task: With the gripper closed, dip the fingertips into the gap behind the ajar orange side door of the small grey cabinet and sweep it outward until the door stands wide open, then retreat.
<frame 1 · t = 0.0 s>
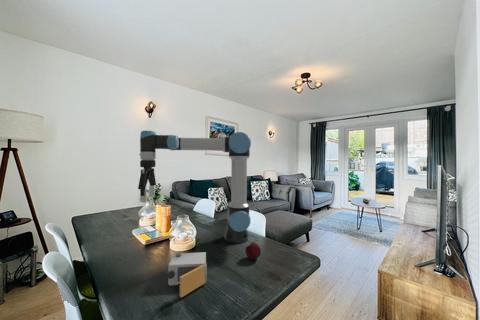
hand: (147, 199, 110), 28 cm above the table, fingers open, 13 cm apart
small grey cabinet: (188, 277, 86), on the table
apple: (253, 259, 103), on the table
side door: (194, 279, 77), point 4 cm above the table, hinge at 45.0°
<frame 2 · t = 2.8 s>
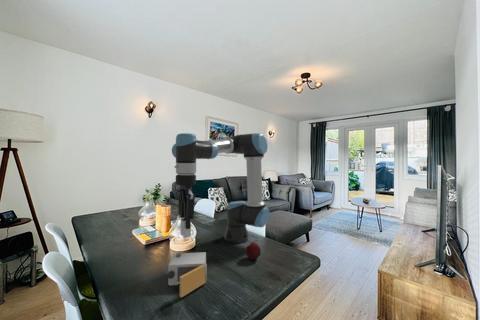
hand: (185, 235, 78), 20 cm above the table, fingers open, 2 cm apart
nothing on the table moved.
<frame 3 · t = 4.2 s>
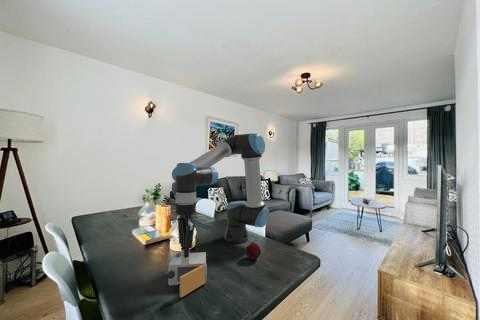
hand: (185, 264, 78), 9 cm above the table, fingers closed
nothing on the table moved.
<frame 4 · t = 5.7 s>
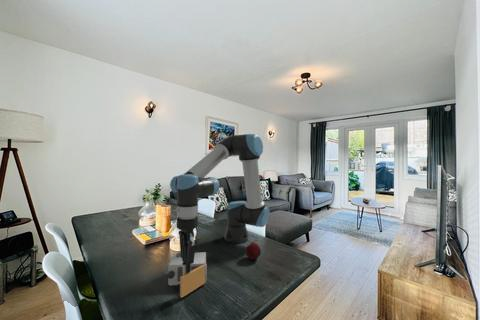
hand: (186, 279, 76), 5 cm above the table, fingers closed
side door: (194, 279, 77), point 4 cm above the table, hinge at 46.3°, touching gripper
everything else where it was.
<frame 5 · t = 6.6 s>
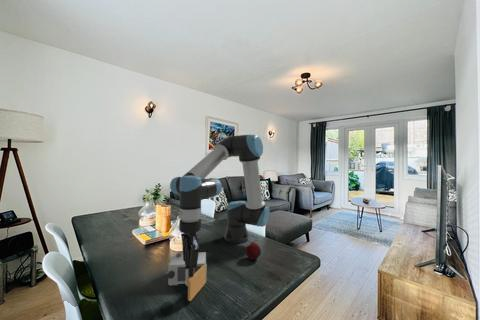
hand: (189, 283, 74), 5 cm above the table, fingers closed
side door: (198, 280, 76), point 4 cm above the table, hinge at 65.5°, touching gripper
everything else where it was.
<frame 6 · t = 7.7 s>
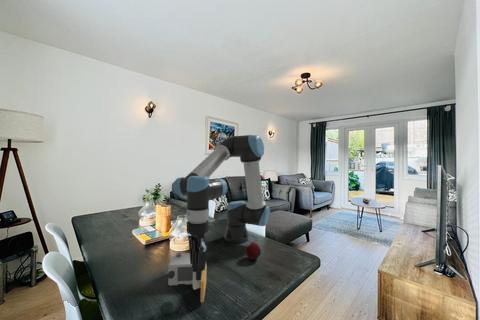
hand: (197, 287, 72), 5 cm above the table, fingers closed
side door: (203, 281, 76), point 4 cm above the table, hinge at 88.3°, touching gripper
everything else where it was.
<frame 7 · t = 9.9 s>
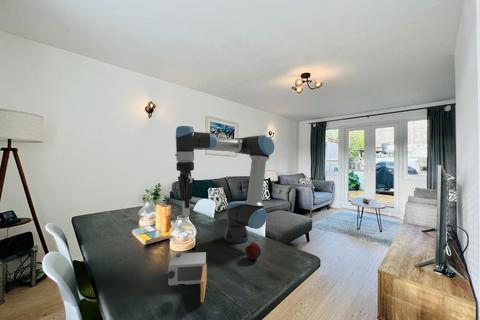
hand: (186, 214, 91), 25 cm above the table, fingers closed
side door: (203, 281, 76), point 4 cm above the table, hinge at 88.4°
everything else where it was.
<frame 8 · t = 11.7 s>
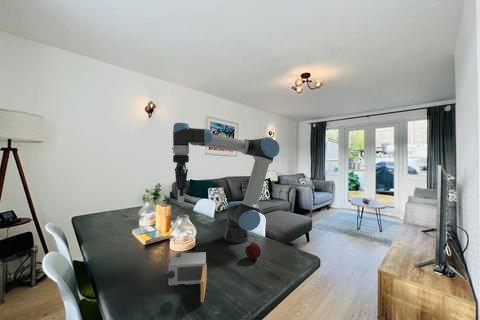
hand: (180, 202, 101), 28 cm above the table, fingers closed
nothing on the table moved.
at the end: side door at +88° (first picture: +45°); side door touching nothing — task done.
